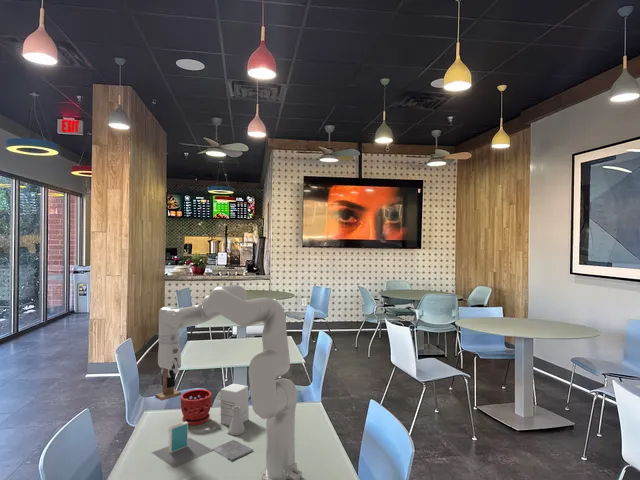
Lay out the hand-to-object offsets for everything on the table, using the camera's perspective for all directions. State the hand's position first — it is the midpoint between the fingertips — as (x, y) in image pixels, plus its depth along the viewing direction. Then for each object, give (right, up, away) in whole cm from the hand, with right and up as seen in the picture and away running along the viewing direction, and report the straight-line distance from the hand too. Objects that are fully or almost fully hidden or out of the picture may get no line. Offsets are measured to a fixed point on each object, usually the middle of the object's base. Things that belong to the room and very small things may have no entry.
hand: (168, 385), depth 162 cm
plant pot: (+5, -23, +21) cm, 31 cm away
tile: (+6, -22, -5) cm, 23 cm away
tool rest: (+26, -22, -6) cm, 35 cm away
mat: (+8, -22, -7) cm, 25 cm away
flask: (+25, -23, +10) cm, 35 cm away
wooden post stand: (0, -4, 0) cm, 4 cm away
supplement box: (+22, -23, +20) cm, 38 cm away
